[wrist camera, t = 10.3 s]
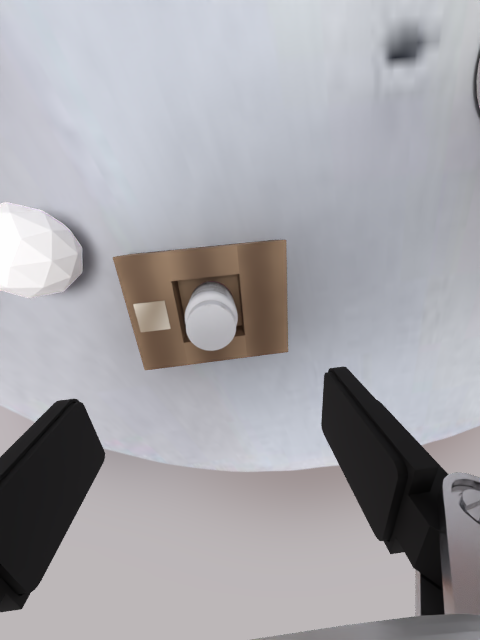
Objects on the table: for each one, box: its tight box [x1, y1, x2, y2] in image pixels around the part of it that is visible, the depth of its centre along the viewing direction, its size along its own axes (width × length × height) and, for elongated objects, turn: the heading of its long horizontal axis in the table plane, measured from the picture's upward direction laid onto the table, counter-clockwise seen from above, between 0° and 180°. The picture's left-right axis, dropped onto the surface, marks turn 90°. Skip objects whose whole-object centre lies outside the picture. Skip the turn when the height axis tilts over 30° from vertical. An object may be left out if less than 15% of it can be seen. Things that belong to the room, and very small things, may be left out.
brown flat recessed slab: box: [113, 240, 288, 370], centre depth 24 cm, size 16×12×4 cm
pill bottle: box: [185, 281, 238, 351], centre depth 21 cm, size 5×5×8 cm
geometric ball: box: [0, 202, 83, 298], centre depth 19 cm, size 8×8×8 cm
